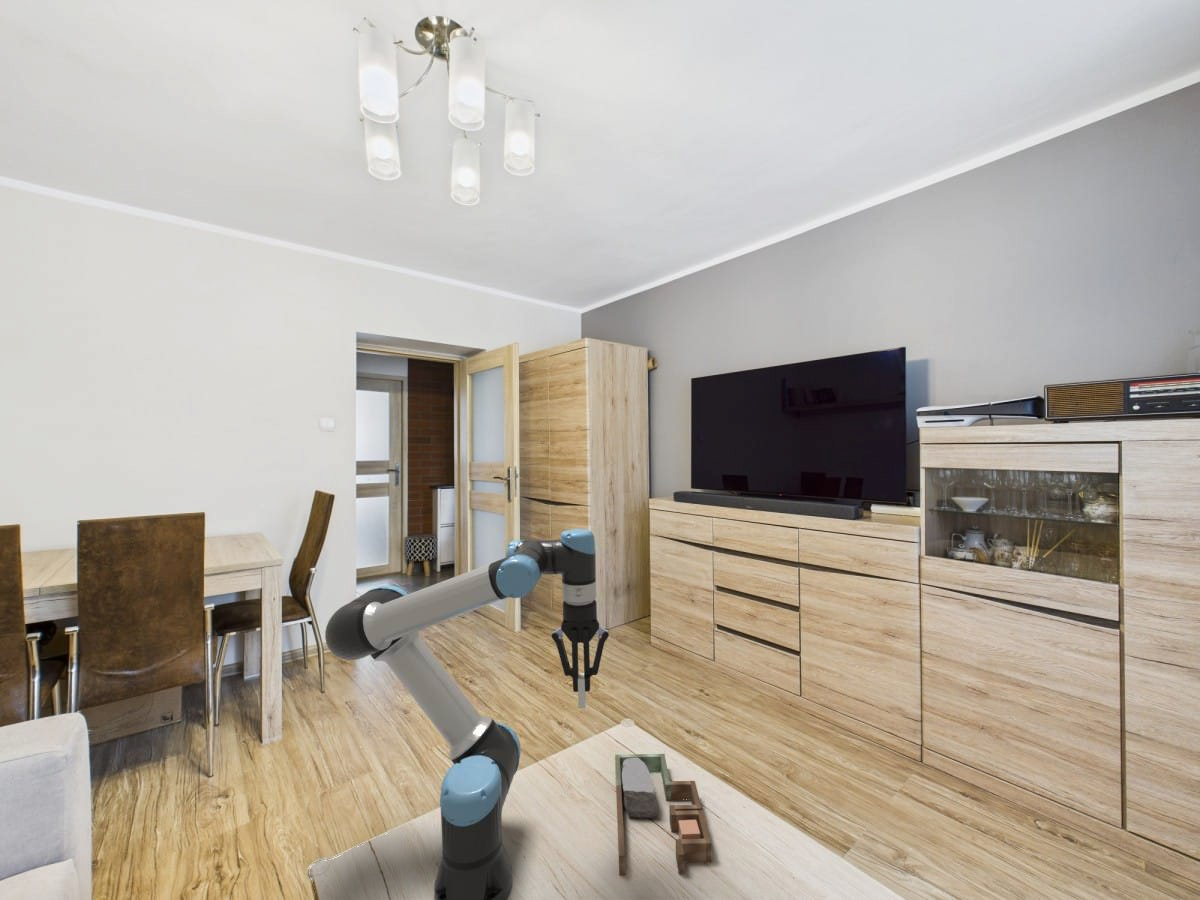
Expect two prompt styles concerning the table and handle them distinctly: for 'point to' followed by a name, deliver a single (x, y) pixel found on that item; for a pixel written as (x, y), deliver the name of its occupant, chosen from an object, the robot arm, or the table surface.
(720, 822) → the table surface
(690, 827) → the cube
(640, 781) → the decorative stone
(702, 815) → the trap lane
